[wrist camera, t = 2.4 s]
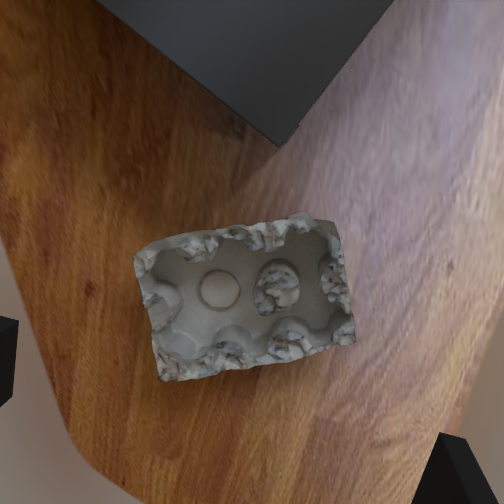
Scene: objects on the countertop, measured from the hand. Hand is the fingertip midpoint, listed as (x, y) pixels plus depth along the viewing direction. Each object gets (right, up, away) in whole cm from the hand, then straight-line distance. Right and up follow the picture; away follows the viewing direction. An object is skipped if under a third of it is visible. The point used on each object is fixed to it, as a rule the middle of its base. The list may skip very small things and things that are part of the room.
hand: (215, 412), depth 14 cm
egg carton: (+1, +3, +12) cm, 12 cm away
